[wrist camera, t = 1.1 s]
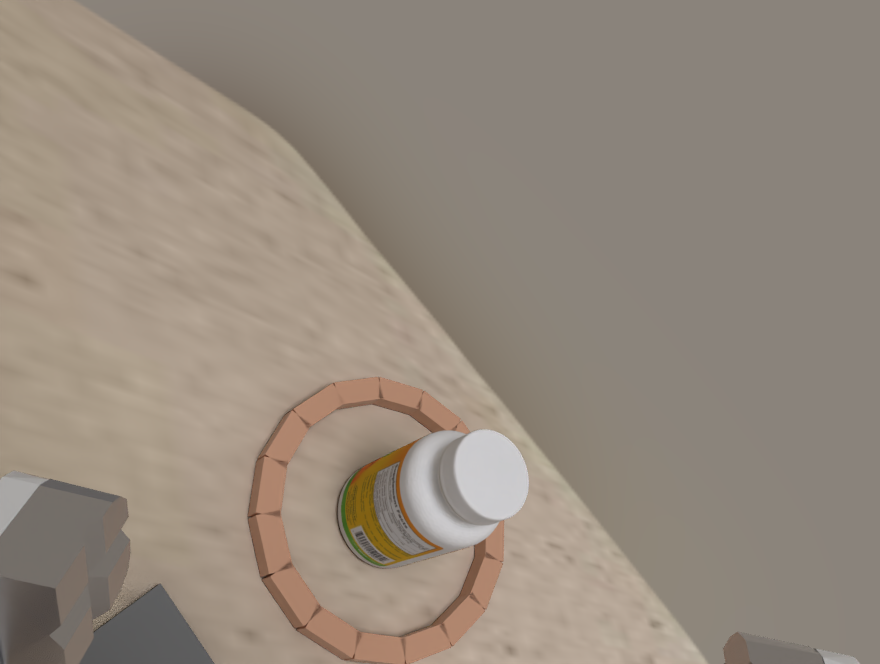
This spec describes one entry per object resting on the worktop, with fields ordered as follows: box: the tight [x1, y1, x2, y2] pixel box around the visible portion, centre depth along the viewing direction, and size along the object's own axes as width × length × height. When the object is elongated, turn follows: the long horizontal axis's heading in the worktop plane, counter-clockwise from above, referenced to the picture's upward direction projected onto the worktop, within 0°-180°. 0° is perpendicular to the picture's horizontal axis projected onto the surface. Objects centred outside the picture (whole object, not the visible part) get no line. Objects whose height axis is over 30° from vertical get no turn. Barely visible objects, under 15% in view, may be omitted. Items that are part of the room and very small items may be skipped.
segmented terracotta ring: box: [248, 377, 504, 664], centre depth 43 cm, size 14×14×1 cm
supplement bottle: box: [338, 429, 529, 568], centre depth 39 cm, size 5×5×10 cm
